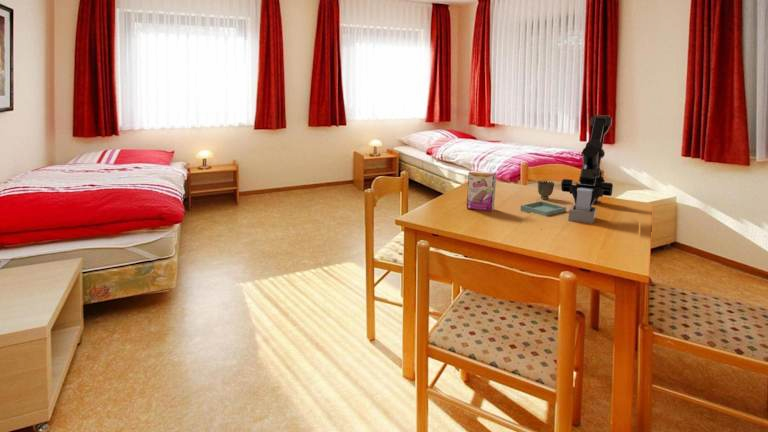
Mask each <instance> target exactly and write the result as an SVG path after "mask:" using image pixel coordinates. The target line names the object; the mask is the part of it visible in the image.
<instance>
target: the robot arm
mask: <svg viewBox="0 0 768 432" xmlns="http://www.w3.org/2000/svg"><path fill="white" fill-rule="evenodd" d="M589 121H590V122H589V126H591V129H592V131H591V136H590V140H589V141H588V142H586V143H585V147H584V148H583V149H582V151H581V157H582V163H583V164H582V168H581V169H580V175H579V179H578V182H579V183H578V182H577V181H573V179H571V178H570V179H569V178H563V179H562V180H561V182H560V185H561V192H566V193H569V194H570V195H572V197H573V200H574V205H576V200H577V191H578V189H579V188H590V189H593V192H592V199H591V203H590V206H591V207H593V205H594V204H599V203H601V202H602V201H601V200H599V198H600V197H603V196H606V197H610V196H613V189H614V188H613V187H614V184H613V183H612V182H608V181H607V182H606V180H605V179H604V177H603V172H602V170H601V168H600V167H601V162H602V161H601V159H603V158H604V157H605V154H606V152H605V150H604V149H603V147H604V142H605V141H604V140H605V139H604V138H605V135H607V133H608V132H609V130H610V127H612V124H613V123H612V121H613V117H610V115H609V114H608V115H603V114H602V115H601V114H594V116H591V117H590V120H589Z"/></svg>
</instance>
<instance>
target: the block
mask: <svg viewBox="0 0 768 432" xmlns="http://www.w3.org/2000/svg"><path fill="white" fill-rule="evenodd" d="M592 192H593V189H590V188H577V200H576V209H575V210H581V211H590V208H591V207H592V206H590V203H591V199H592Z"/></svg>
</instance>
